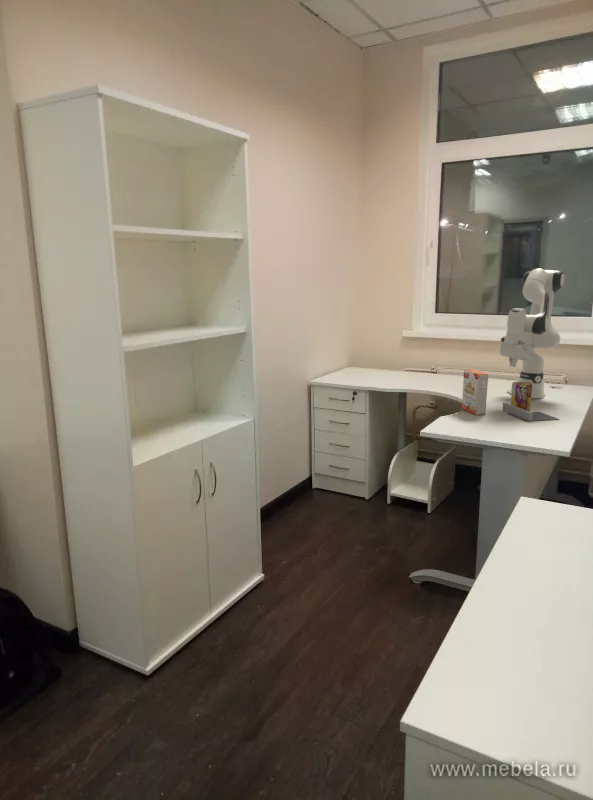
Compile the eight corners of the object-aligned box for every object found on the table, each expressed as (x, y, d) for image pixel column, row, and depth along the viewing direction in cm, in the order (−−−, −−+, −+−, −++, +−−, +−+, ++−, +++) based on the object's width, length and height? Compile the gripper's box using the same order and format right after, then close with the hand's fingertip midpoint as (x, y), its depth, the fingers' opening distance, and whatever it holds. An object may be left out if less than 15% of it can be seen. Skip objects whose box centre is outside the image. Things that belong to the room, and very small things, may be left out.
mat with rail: (499, 410, 294) (500, 403, 294) (531, 409, 298) (531, 401, 297) (525, 421, 272) (526, 413, 272) (559, 419, 276) (560, 411, 275)
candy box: (526, 410, 295) (528, 381, 292) (530, 412, 291) (533, 383, 288) (509, 410, 294) (512, 381, 291) (513, 412, 290) (516, 383, 287)
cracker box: (460, 409, 298) (463, 369, 293) (471, 408, 299) (474, 369, 294) (475, 415, 284) (478, 374, 280) (485, 414, 286) (489, 373, 281)
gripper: (532, 341, 285) (529, 369, 288) (509, 338, 305) (507, 363, 307) (521, 342, 284) (518, 369, 287) (498, 338, 303) (496, 363, 306)
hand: (512, 366), depth 297 cm, fingers closed
